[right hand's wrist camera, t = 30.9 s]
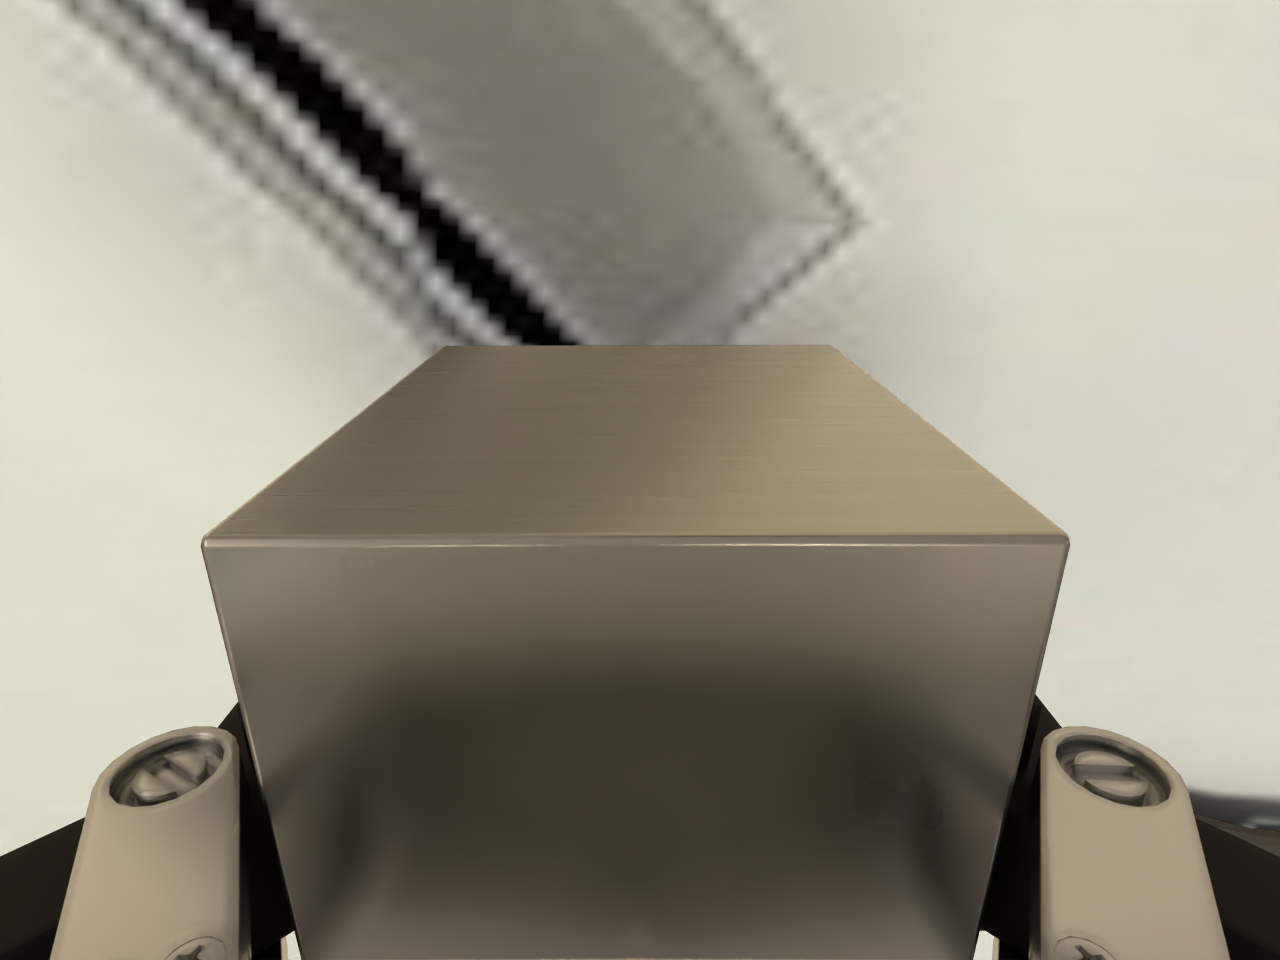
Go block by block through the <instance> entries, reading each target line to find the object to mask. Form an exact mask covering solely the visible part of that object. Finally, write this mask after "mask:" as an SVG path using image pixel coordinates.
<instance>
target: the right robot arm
mask: <svg viewBox="0 0 1280 960" xmlns="http://www.w3.org/2000/svg"><path fill="white" fill-rule="evenodd" d="M293 931H294V927H293V922H292V918H291V914H290V910H289V906H288V902H287V898H286V894H285V890H284V886H283V881H282V877H281V873H280V869H279V865H278V861H277V857H276V853H275V849H274V845H273V840H272V836H271V832H270V828H269V824H268V820H267V816H266V812H265V808H264V804H263V799H262V795H261V791H260V787H259V783H258V779H257V775H256V771H255V767H254V763H253V758H252V754H251V750H250V746H249V742H248V738H247V734H246V730H245V726H244V722H243V717H242V713H241V709H240V705H239V701H238V702H237V704H236V705H235V706H234V708H233V709H232V710H231V711H230V713H229V714H228V715H227V716H226V718H225V719H224V720H223V721H222V723H221V724H220V725H219V727H218V728H216V727H189V728H183V729H178V730H173V731H170V732H167V733H164V734H161V735H158V736H155V737H152V738H150V739H148V740H146V741H144V742H142V743H140V744H138V745H136V746H134V747H132V748H131V749H129V750H128V751H126V752H125V753H124V754H122V755H121V756H119V757H118V758H117V759H115V760H114V761H113V762H112V763H111V764H110V765H109V766H108V767H107V768H106V769H105V770H104V771H103V772H102V773H101V774H100V776H99V777H98V779H97V781H96V783H95V785H94V787H93V790H92V793H91V797H90V801H89V805H88V809H87V813H86V817H85V818H82V819H80V820H78V821H76V822H74V823H72V824H69V825H67V826H65V827H63V828H61V829H59V830H56V831H54V832H52V833H50V834H48V835H46V836H44V837H41V838H39V839H37V840H35V841H33V842H31V843H28V844H26V845H24V846H22V847H20V848H18V849H16V850H13V851H11V852H9V853H7V854H5V855H3V856H0V960H288V953H287V941H286V937H285V936H286V935H288V934H290V933H291V932H293ZM980 931H987V932H988V933H990V934H991V935H993V936H995V937H994V941H993V953H992V960H1280V857H1279V856H1277V855H1275V854H1273V853H1271V852H1268V851H1266V850H1264V849H1262V848H1260V847H1258V846H1255V845H1253V844H1251V843H1249V842H1247V841H1245V840H1243V839H1240V838H1238V837H1236V836H1234V835H1232V834H1230V833H1227V832H1225V831H1223V830H1221V829H1219V828H1217V827H1214V826H1212V825H1210V824H1208V823H1206V822H1204V821H1202V820H1199V819H1197V818H1195V817H1194V813H1193V809H1192V805H1191V801H1190V797H1189V793H1188V790H1187V787H1186V785H1185V783H1184V781H1183V779H1182V777H1181V775H1180V774H1179V773H1178V772H1177V771H1176V770H1175V769H1174V768H1173V767H1172V766H1171V765H1170V764H1169V763H1168V762H1167V761H1166V760H1165V759H1163V758H1162V757H1161V756H1159V755H1158V754H1156V753H1155V752H1154V751H1152V750H1151V749H1149V748H1148V747H1146V746H1144V745H1142V744H1140V743H1138V742H1136V741H1134V740H1132V739H1130V738H1128V737H1125V736H1122V735H1119V734H1116V733H1113V732H1110V731H1107V730H1102V729H1097V728H1091V727H1064V728H1062V727H1061V726H1060V725H1059V724H1058V722H1057V721H1056V720H1055V718H1054V717H1053V716H1052V715H1051V713H1050V712H1049V711H1048V710H1047V708H1046V707H1045V706H1044V705H1043V703H1042V702H1041V701H1040V700H1039V698H1038V697H1037V696H1036V694H1035V697H1034V701H1033V705H1032V709H1031V714H1030V718H1029V722H1028V727H1027V731H1026V735H1025V739H1024V744H1023V748H1022V752H1021V756H1020V761H1019V765H1018V769H1017V773H1016V778H1015V782H1014V786H1013V791H1012V795H1011V799H1010V803H1009V808H1008V812H1007V816H1006V820H1005V825H1004V829H1003V833H1002V837H1001V842H1000V846H999V850H998V855H997V859H996V863H995V867H994V872H993V876H992V880H991V884H990V889H989V893H988V897H987V902H986V906H985V910H984V914H983V919H982V923H981V927H980ZM430 960H850V959H654V958H626V959H430Z"/></svg>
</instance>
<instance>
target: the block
mask: <svg viewBox="0 0 1280 960" xmlns="http://www.w3.org/2000/svg"><path fill="white" fill-rule="evenodd" d="M1069 547H1070V541H1069V537H1068V535H1067V534H1066V533H1065V532H1064V531H1063V530H1061V529H1060V528H1059V527H1058V526H1056V525H1055V524H1054V523H1053V522H1051V521H1050V520H1049V519H1048V518H1046V517H1045V516H1044V515H1043V514H1041V513H1040V512H1039V511H1038V510H1036V509H1035V508H1034V507H1033V506H1031V505H1030V504H1029V503H1028V502H1026V501H1025V500H1024V499H1023V498H1021V497H1020V496H1019V495H1018V494H1016V493H1015V492H1014V491H1013V490H1011V489H1010V488H1009V487H1008V486H1006V485H1005V484H1004V483H1003V482H1001V481H1000V480H999V479H998V478H996V477H995V476H994V475H993V474H991V473H990V472H989V471H988V470H986V469H985V468H984V467H983V466H981V465H980V464H979V463H978V462H976V461H975V460H974V459H973V458H971V457H970V456H969V455H968V454H966V453H965V452H964V451H963V450H961V449H960V448H959V447H958V446H956V445H955V444H954V443H953V442H951V441H950V440H949V439H948V438H946V437H945V436H944V435H943V434H941V433H940V432H939V431H938V430H936V429H935V428H934V427H933V426H931V425H930V424H929V423H928V422H926V421H925V420H924V419H923V418H921V417H920V416H919V415H918V414H916V413H915V412H914V411H913V410H911V409H910V408H909V407H908V406H906V405H905V404H904V403H903V402H901V401H900V400H899V399H898V398H896V397H895V396H894V395H893V394H891V393H890V392H889V391H888V390H886V389H885V388H884V387H883V386H881V385H880V384H879V383H878V382H876V381H875V380H874V379H873V378H871V377H870V376H869V375H868V374H866V373H865V372H864V371H863V370H861V369H860V368H859V367H858V366H856V365H855V364H854V363H853V362H851V361H850V360H849V359H848V358H846V357H845V356H844V355H843V354H841V353H840V352H839V351H838V350H836V349H835V348H834V347H833V346H830V345H638V346H445V347H442V348H441V349H440V350H439V351H437V352H436V353H435V354H434V355H432V356H431V357H430V358H429V359H427V360H426V361H425V362H423V363H422V364H421V365H420V366H418V367H417V368H416V369H415V370H413V371H412V372H411V373H410V374H408V375H407V376H406V377H404V378H403V379H402V380H401V381H399V382H398V383H397V384H396V385H394V386H393V387H392V388H390V389H389V390H388V391H387V392H385V393H384V394H383V395H382V396H380V397H379V398H378V399H377V400H375V401H374V402H373V403H371V404H370V405H369V406H368V407H366V408H365V409H364V410H363V411H361V412H360V413H359V414H358V415H356V416H355V417H354V418H352V419H351V420H350V421H349V422H347V423H346V424H345V425H344V426H342V427H341V428H340V429H339V430H337V431H336V432H335V433H333V434H332V435H331V436H330V437H328V438H327V439H326V440H325V441H323V442H322V443H321V444H320V445H318V446H317V447H316V448H314V449H313V450H312V451H311V452H309V453H308V454H307V455H306V456H304V457H303V458H302V459H301V460H299V461H298V462H297V463H295V464H294V465H293V466H292V467H290V468H289V469H288V470H287V471H285V472H284V473H283V474H281V475H280V476H279V477H278V478H276V479H275V480H274V481H273V482H271V483H270V484H269V485H268V486H266V487H265V488H264V489H262V490H261V491H260V492H259V493H257V494H256V495H255V496H254V497H252V498H251V499H250V500H249V501H247V502H246V503H245V504H243V505H242V506H241V507H240V508H238V509H237V510H236V511H235V512H233V513H232V514H231V515H230V516H228V517H227V518H226V519H224V520H223V521H222V522H221V523H219V524H218V525H217V526H216V527H214V528H213V529H212V530H211V531H209V532H208V533H207V534H205V535H204V536H203V538H202V542H201V549H202V553H203V558H204V562H205V566H206V570H207V574H208V578H209V582H210V586H211V590H212V594H213V599H214V603H215V607H216V611H217V615H218V619H219V623H220V627H221V631H222V635H223V640H224V644H225V648H226V652H227V656H228V660H229V664H230V668H231V672H232V676H233V681H234V685H235V689H236V693H237V697H238V701H239V705H240V709H241V713H242V717H243V722H244V726H245V730H246V734H247V738H248V742H249V746H250V750H251V754H252V758H253V763H254V767H255V771H256V775H257V779H258V783H259V787H260V791H261V795H262V799H263V804H264V808H265V812H266V816H267V820H268V824H269V828H270V832H271V836H272V840H273V845H274V849H275V853H276V857H277V861H278V865H279V869H280V873H281V877H282V881H283V886H284V890H285V894H286V898H287V902H288V906H289V910H290V914H291V918H292V922H293V927H294V931H295V935H296V939H297V943H298V947H299V951H300V955H301V959H302V960H430V959H626V958H654V959H850V960H973V957H974V953H975V948H976V944H977V940H978V936H979V931H980V927H981V923H982V919H983V914H984V910H985V906H986V902H987V897H988V893H989V889H990V884H991V880H992V876H993V872H994V867H995V863H996V859H997V855H998V850H999V846H1000V842H1001V837H1002V833H1003V829H1004V825H1005V820H1006V816H1007V812H1008V808H1009V803H1010V799H1011V795H1012V791H1013V786H1014V782H1015V778H1016V773H1017V769H1018V765H1019V761H1020V756H1021V752H1022V748H1023V744H1024V739H1025V735H1026V731H1027V727H1028V722H1029V718H1030V714H1031V709H1032V705H1033V701H1034V697H1035V692H1036V688H1037V684H1038V680H1039V675H1040V671H1041V667H1042V663H1043V658H1044V654H1045V650H1046V645H1047V641H1048V637H1049V633H1050V628H1051V624H1052V620H1053V616H1054V611H1055V607H1056V603H1057V598H1058V594H1059V590H1060V586H1061V581H1062V577H1063V573H1064V569H1065V564H1066V560H1067V556H1068V552H1069Z"/></svg>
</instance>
